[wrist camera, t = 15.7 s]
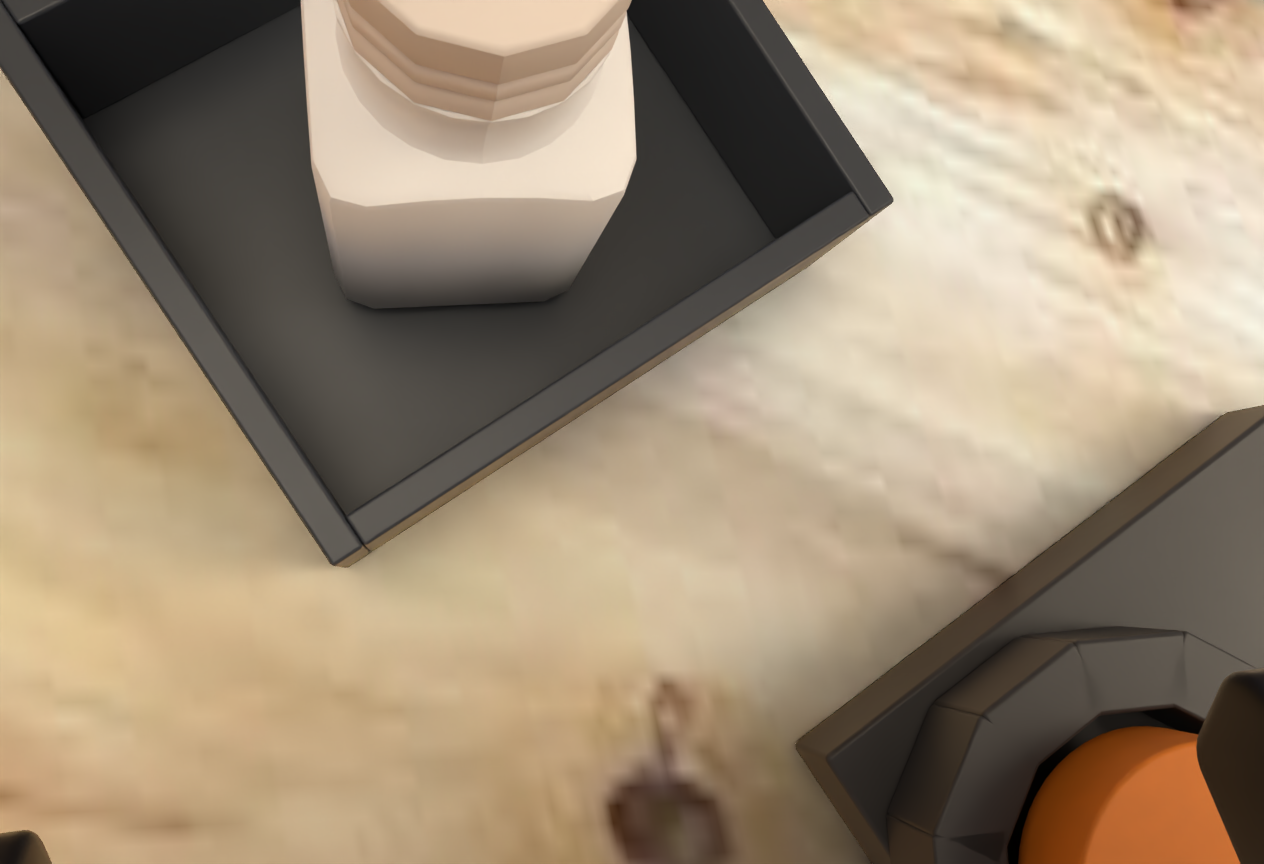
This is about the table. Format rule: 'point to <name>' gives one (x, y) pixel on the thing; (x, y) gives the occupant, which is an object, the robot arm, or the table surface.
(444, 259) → the pepper shaker
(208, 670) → the table surface
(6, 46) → the dark grey open box
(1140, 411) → the table surface
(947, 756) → the button base
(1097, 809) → the button
